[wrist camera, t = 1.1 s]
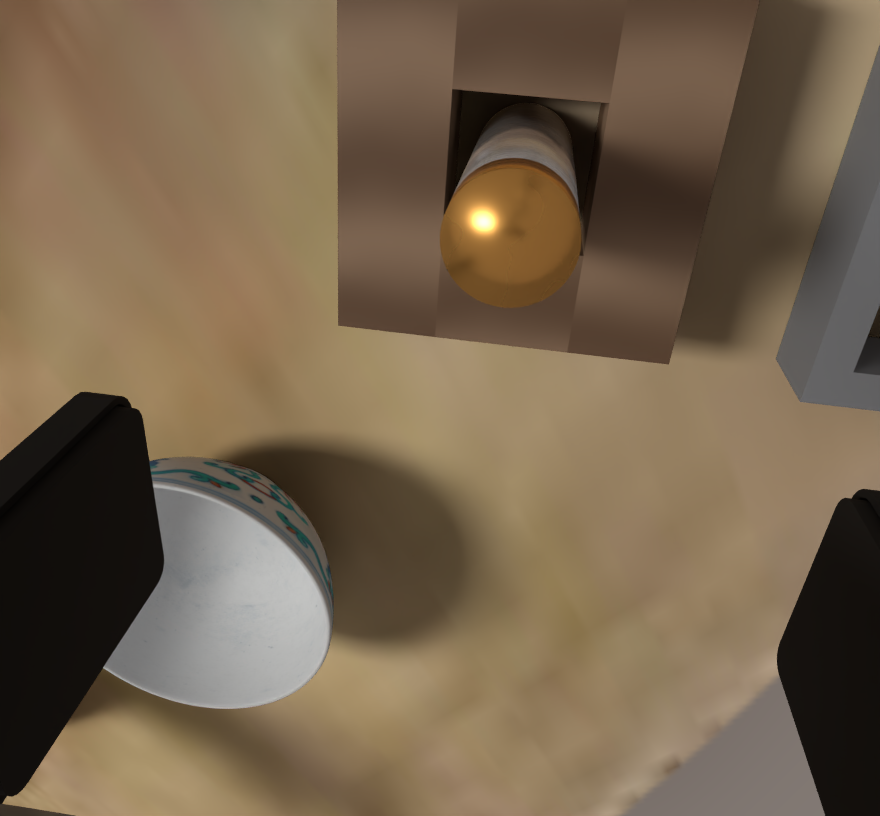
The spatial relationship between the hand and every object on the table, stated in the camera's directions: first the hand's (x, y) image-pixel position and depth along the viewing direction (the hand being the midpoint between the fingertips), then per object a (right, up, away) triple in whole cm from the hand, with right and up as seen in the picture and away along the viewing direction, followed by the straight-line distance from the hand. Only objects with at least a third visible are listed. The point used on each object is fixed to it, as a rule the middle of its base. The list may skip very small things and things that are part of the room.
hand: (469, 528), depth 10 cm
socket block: (+3, +12, +21) cm, 25 cm away
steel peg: (+3, +12, +21) cm, 25 cm away
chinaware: (-12, -4, +34) cm, 36 cm away
